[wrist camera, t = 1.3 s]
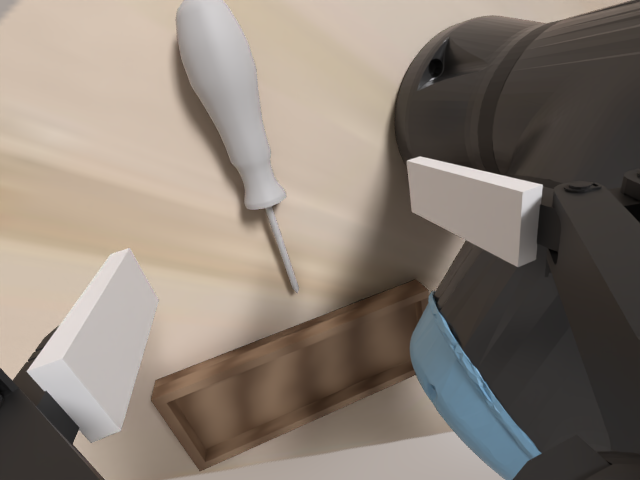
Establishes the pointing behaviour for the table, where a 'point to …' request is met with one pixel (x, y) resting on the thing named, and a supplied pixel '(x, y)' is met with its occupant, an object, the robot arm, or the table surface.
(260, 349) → the tool tray
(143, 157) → the table surface
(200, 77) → the screwdriver
